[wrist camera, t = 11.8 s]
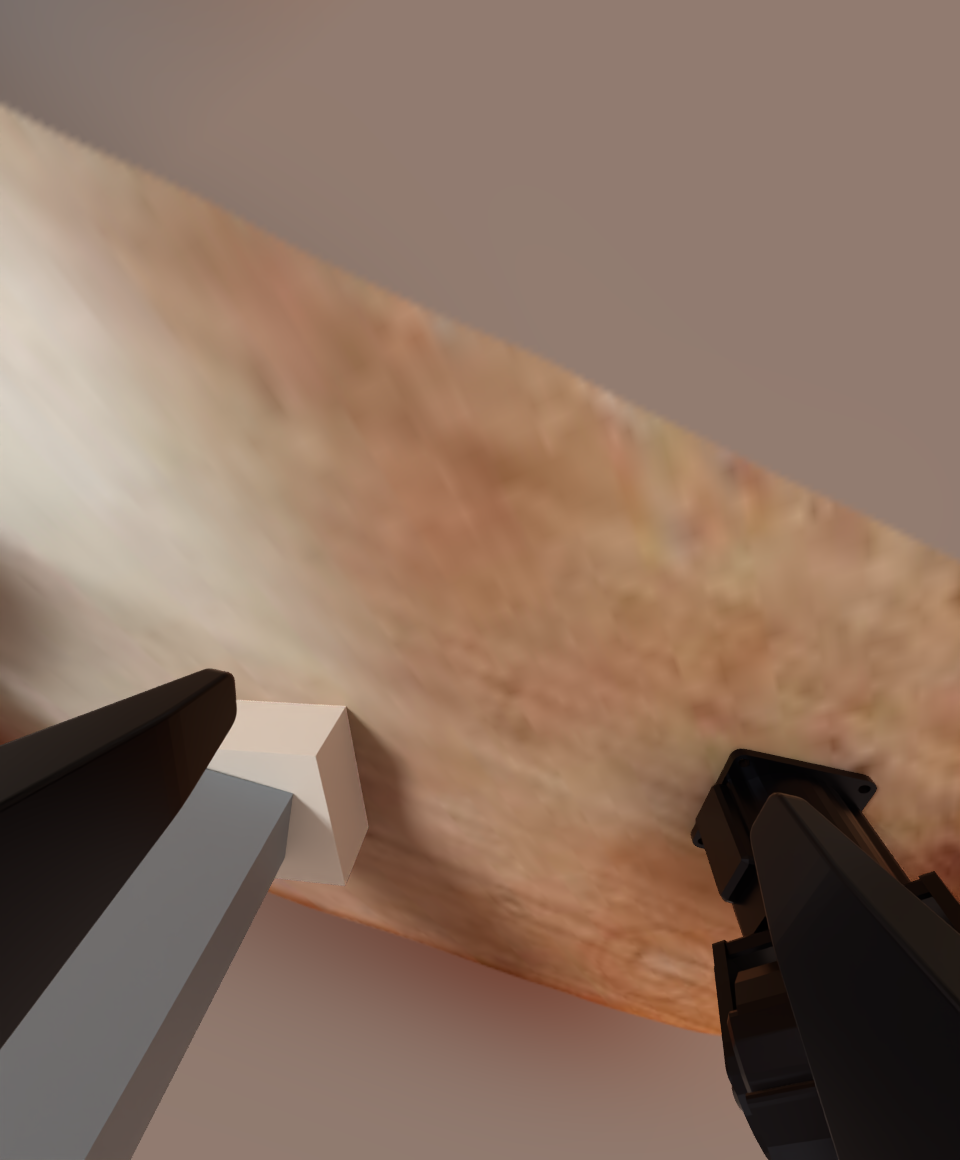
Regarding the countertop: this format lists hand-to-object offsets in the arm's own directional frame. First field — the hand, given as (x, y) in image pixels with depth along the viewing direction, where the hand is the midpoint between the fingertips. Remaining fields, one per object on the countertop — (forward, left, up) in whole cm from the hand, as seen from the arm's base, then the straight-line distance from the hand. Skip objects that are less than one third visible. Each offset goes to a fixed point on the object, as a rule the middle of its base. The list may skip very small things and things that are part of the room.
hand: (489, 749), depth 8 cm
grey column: (+11, +17, -9) cm, 22 cm away
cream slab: (+11, +17, -14) cm, 24 cm away
